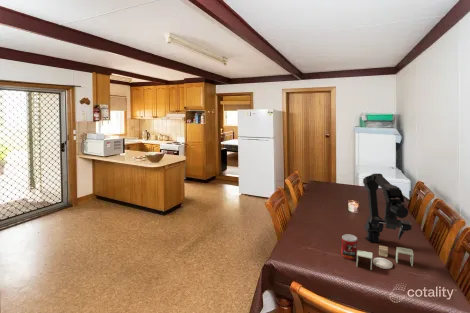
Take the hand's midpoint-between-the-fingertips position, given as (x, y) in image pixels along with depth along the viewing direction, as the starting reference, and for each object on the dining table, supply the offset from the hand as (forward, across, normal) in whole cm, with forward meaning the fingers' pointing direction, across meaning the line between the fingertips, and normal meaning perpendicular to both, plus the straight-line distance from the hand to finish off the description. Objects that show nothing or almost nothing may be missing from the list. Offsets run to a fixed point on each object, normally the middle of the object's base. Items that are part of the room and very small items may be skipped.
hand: (388, 237), depth 143 cm
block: (+11, -2, 0) cm, 11 cm away
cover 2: (+10, +7, -4) cm, 13 cm away
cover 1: (+10, -11, -16) cm, 22 cm away
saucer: (+10, -3, -10) cm, 15 cm away
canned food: (+11, -19, -9) cm, 24 cm away
